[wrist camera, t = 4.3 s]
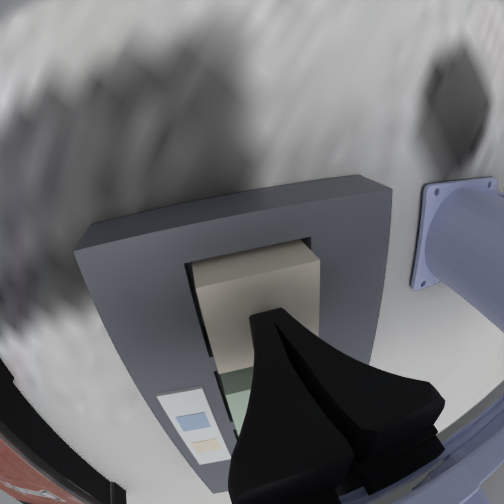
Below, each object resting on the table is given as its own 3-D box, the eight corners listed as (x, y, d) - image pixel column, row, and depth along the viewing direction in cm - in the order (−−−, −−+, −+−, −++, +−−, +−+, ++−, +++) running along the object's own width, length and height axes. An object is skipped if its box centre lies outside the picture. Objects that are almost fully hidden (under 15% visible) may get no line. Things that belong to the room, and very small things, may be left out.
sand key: (299, 238, 13) (319, 260, 12) (302, 321, 16) (317, 347, 14) (191, 261, 13) (195, 288, 11) (212, 344, 15) (218, 374, 13)
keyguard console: (358, 174, 15) (395, 190, 13) (331, 437, 28) (342, 459, 25) (90, 224, 13) (71, 254, 10) (208, 470, 26) (213, 495, 23)
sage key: (302, 344, 16) (316, 370, 15) (302, 392, 19) (313, 416, 17) (218, 365, 16) (225, 395, 14) (232, 411, 18) (239, 437, 16)
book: (-99, 346, 11) (-117, 378, 7) (-6, 341, 14) (-30, 392, 10) (24, 479, 23) (21, 506, 19) (125, 488, 26) (127, 521, 22)
